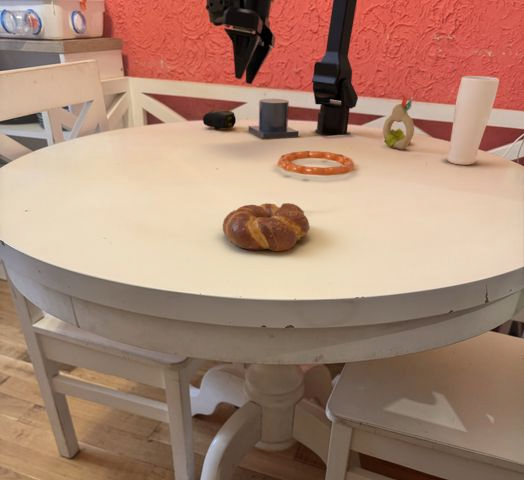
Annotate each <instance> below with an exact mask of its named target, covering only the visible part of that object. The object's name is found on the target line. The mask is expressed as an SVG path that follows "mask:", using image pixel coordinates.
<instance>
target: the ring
mask: <svg viewBox="0 0 524 480" xmlns="http://www.w3.org/2000/svg"><path fill="white" fill-rule="evenodd" d="M301 159H321V160H329V161H334V162H337V163H339V164H341V165H338V166H337V165H336V166H327V167H326V166H325V167H324V166H323V167H320V166H306V165H301V164H296V163H292V162H293V161H295V160H301ZM277 167H279V168H281V169H283V170H285V171H287V172H290V173H296V174H301V175H308V176H325V177H327V176H336V175H344V174H347V173H350V172H352V171H355V162H354V160H353V159H352V158H350V157H348V156H345V155H344V154H340V153H335V152H329V151H321V150H320V151H318V150H303V151H302V150H300V151H292V152H288V153H285V154H282V155H281V156H280V157H278V161H277Z"/></svg>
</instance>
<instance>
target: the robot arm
mask: <svg viewBox="0 0 524 480" xmlns="http://www.w3.org/2000/svg"><path fill="white" fill-rule="evenodd" d="M274 2H275V0H206V5H205V9H206V11H207V12H208V18H209V23H211V24H213V26H214V27H220V26H224V32H225V33H226V34H227V36H228V37H229V39H230V40H231V43H232V52H233V65H234V78H235V79H237V80H242V79H243V77H244V75H245V84H247V85H252V84H253V83H254V80H255V78H256V77H257V75H258V74H259V71H260V70H261V68H262V66H263V65H264V63H265V62H266V60H267V59H268V56H269V55H270V53H271V52H273V51H272V50H273V49H275V43H276V38H277V37H276V36H275V34H274V32H273V31H272V29H271V22H270V13H271V6H272V4H274ZM357 2H358V0H332V5H331V14H330V20H329V26H328V33H327V34H328V35H327V42H326V48H325V53H324V55H323V57H322V58H321V60H320V61H315V62H314V65H313V76H312V79H311V83H312V91H313V95H314V96H313V97H314V104H315V105H320V106H319V107H320V108H319V111H318V112H317V121H316V122H317V124H316V129H314V132H315V133H317V134H320V135H322V136H324V137H333V136H336V137H337V136H349V135H351V132H349V131H348V127H349V117H350V110H352V109H353V108H356V106H357V102H358V99H359V96H358V94H357V92H356V90H355V87H354V86H353V84H352V80H353V70H352V66H351V63H350V59H349V50H350V45H351V40H352V38H351V37H352V32H353V27H354V20H355V15H356V8H357ZM230 27H232V29H231V28H230Z"/></svg>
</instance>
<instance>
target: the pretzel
mask: <svg viewBox="0 0 524 480" xmlns="http://www.w3.org/2000/svg"><path fill="white" fill-rule="evenodd" d="M310 228H311V227H310V222H309V219H308V217H307V216H306V215H305V213H304V210H303V209H302V208H301V207H300V206H298V205H297V204H294V203H290V202H286V203H285V202H284V203H282V204H281V205H280V206H277V205H276V204H275V203H266V202H265V203H262V204H260V205H257V204H247V205H242V206H240V207H238V208H237V209H235V210H232V211H231V212H229V213H228V214H227V215H226V216H225V218H224V219H223V223H222V231H223V234H224V236H225V237H226V238H227V239H228V240H229V241H230V242H231V243H232V244H233V245H235V246H237V247H239V248H242V249H246V250H250V251H254V250H258V251H259V250H270V251H274V252H282V251H286V250H290V249H291V248H293V247H294V246H295V245H296V244H297V242H299V241H300V240H301V238H302V237H305V236H306V235H307V234H308V232H309V230H310Z"/></svg>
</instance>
